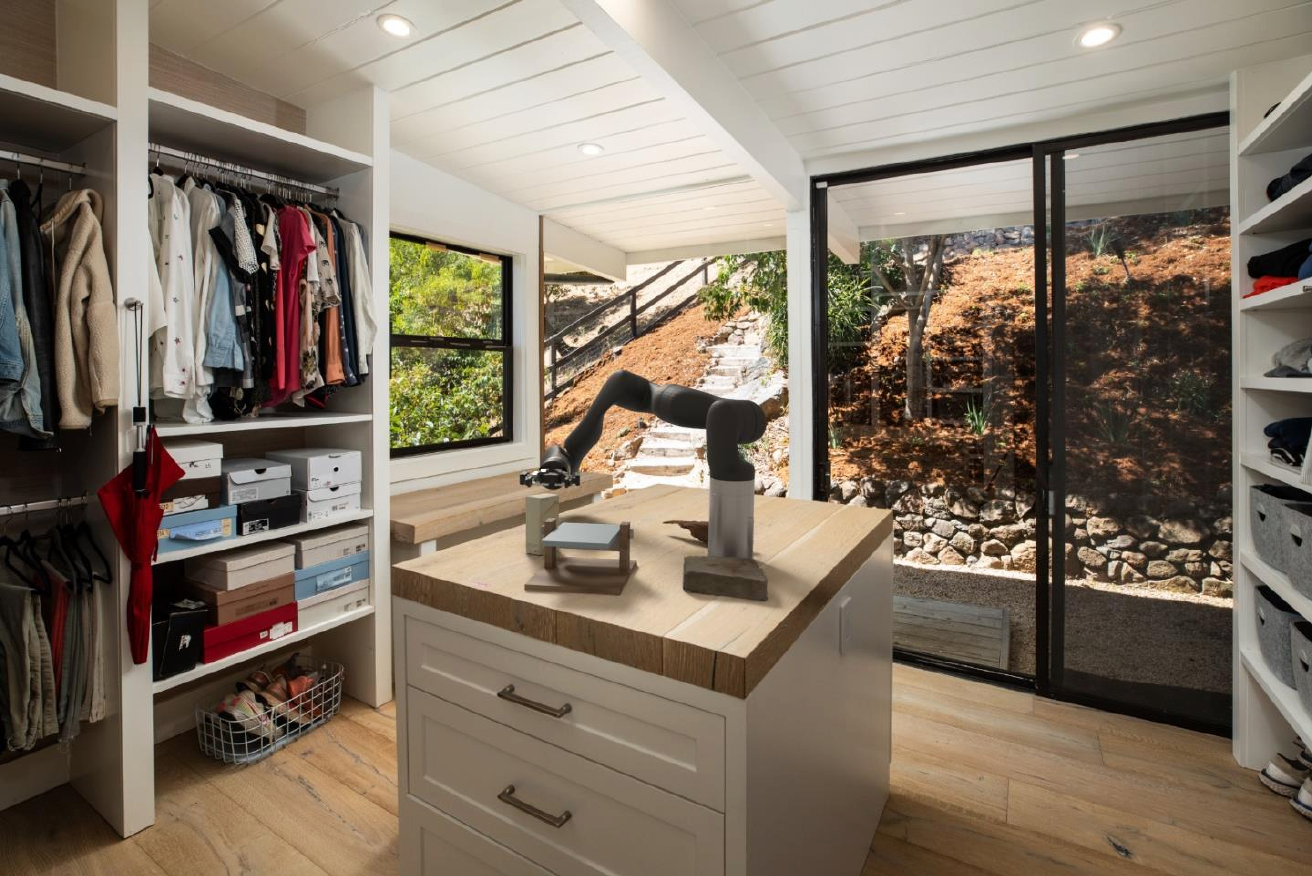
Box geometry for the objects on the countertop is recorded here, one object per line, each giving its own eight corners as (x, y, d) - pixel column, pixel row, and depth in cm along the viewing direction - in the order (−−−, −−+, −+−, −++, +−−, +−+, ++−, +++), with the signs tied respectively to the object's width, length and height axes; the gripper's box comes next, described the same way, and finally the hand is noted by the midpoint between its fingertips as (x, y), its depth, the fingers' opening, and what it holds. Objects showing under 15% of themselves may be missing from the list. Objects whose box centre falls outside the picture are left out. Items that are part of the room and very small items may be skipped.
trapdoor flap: (563, 544, 135) (563, 522, 135) (622, 547, 134) (623, 525, 133) (541, 565, 120) (541, 540, 120) (607, 568, 119) (608, 543, 118)
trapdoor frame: (552, 560, 138) (552, 512, 137) (638, 565, 136) (638, 516, 135) (522, 589, 119) (522, 533, 118) (621, 595, 117) (622, 538, 116)
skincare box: (540, 556, 141) (540, 498, 140) (524, 552, 144) (524, 496, 143) (559, 549, 147) (560, 494, 146) (544, 546, 149) (544, 492, 148)
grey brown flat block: (768, 603, 115) (769, 579, 115) (681, 601, 116) (682, 577, 116) (758, 574, 132) (759, 553, 131) (682, 572, 132) (683, 551, 132)
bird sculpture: (668, 531, 166) (669, 511, 166) (760, 548, 151) (760, 526, 151) (652, 536, 161) (653, 515, 160) (745, 554, 146) (746, 531, 146)
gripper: (526, 457, 171) (516, 466, 155) (583, 458, 172) (579, 468, 155) (526, 486, 172) (516, 499, 156) (582, 487, 172) (578, 500, 156)
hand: (547, 483), depth 156 cm, fingers open, 8 cm apart
